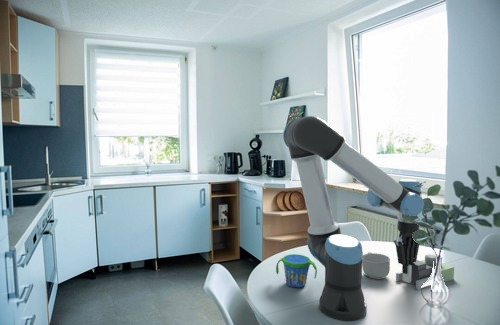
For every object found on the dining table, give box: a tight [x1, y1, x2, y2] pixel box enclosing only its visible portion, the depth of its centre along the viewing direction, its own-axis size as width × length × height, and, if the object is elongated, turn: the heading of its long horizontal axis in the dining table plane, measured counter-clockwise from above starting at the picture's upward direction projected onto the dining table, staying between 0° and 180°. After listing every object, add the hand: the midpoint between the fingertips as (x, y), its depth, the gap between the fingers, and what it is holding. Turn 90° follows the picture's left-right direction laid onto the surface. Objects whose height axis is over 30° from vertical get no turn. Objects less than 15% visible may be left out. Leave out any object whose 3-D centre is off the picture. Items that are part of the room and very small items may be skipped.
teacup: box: [362, 251, 391, 280], centre depth 143 cm, size 14×11×8 cm
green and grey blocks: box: [395, 253, 455, 291], centre depth 138 cm, size 21×11×8 cm, turn 119°
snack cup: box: [275, 253, 318, 289], centre depth 134 cm, size 16×10×10 cm
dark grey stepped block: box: [409, 259, 432, 286], centre depth 136 cm, size 8×6×8 cm
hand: (406, 281), depth 133 cm, fingers closed
